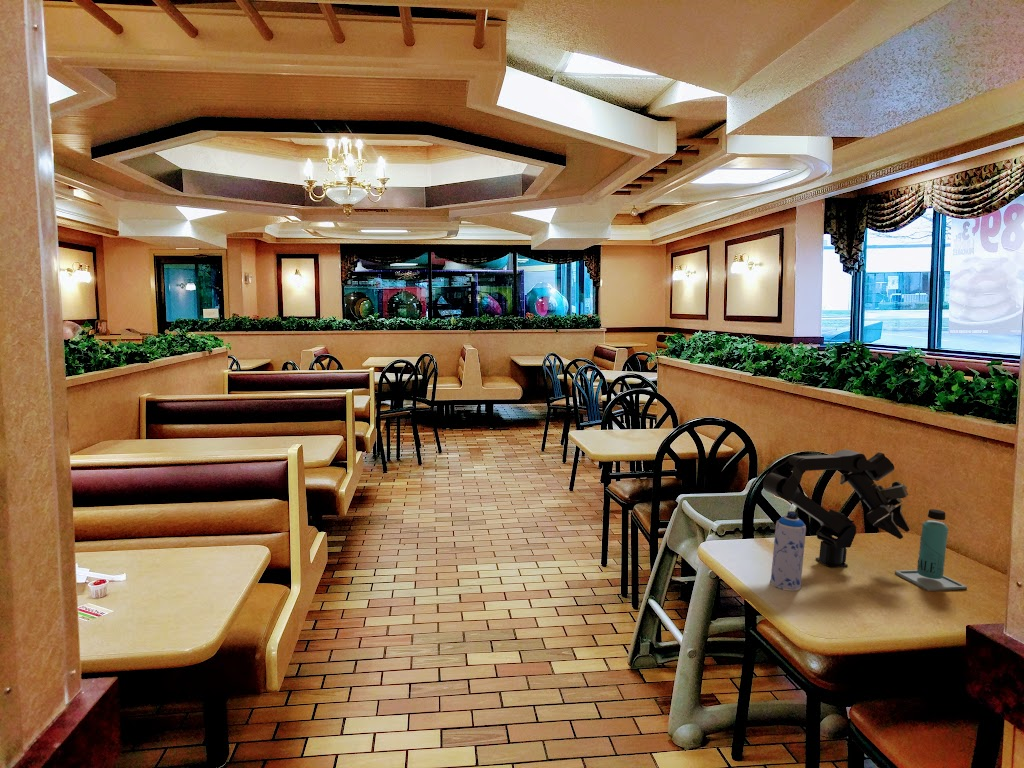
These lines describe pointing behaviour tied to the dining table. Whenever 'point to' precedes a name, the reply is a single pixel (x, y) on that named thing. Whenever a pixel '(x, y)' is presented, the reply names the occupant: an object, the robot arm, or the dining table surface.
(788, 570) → the aerosol can
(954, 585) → the tray
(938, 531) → the beverage bottle
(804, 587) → the dining table surface
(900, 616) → the dining table surface
